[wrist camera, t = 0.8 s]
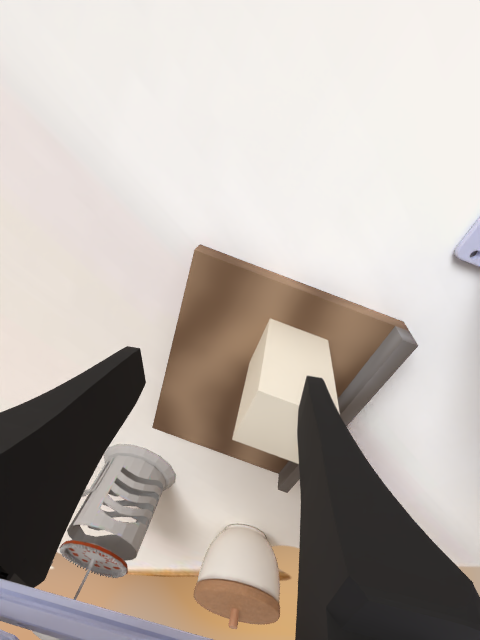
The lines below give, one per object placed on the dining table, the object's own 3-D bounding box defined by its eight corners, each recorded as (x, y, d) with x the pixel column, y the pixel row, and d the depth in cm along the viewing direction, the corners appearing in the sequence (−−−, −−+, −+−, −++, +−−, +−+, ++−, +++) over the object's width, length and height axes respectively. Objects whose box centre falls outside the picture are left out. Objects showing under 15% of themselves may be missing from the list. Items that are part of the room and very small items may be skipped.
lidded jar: (290, 554, 41) (288, 649, 33) (224, 549, 45) (208, 635, 37) (271, 516, 36) (264, 617, 29) (198, 514, 40) (174, 604, 32)
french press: (149, 496, 40) (-18, 889, 19) (79, 453, 37) (-214, 860, 16) (191, 477, 35) (29, 973, 14) (114, 425, 32) (-239, 954, 11)
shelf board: (406, 322, 19) (421, 346, 17) (289, 466, 30) (289, 493, 28) (200, 244, 19) (186, 257, 17) (157, 418, 30) (145, 441, 27)
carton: (269, 318, 20) (258, 390, 14) (328, 340, 20) (341, 421, 14) (248, 364, 22) (230, 442, 16) (299, 383, 22) (300, 468, 16)
